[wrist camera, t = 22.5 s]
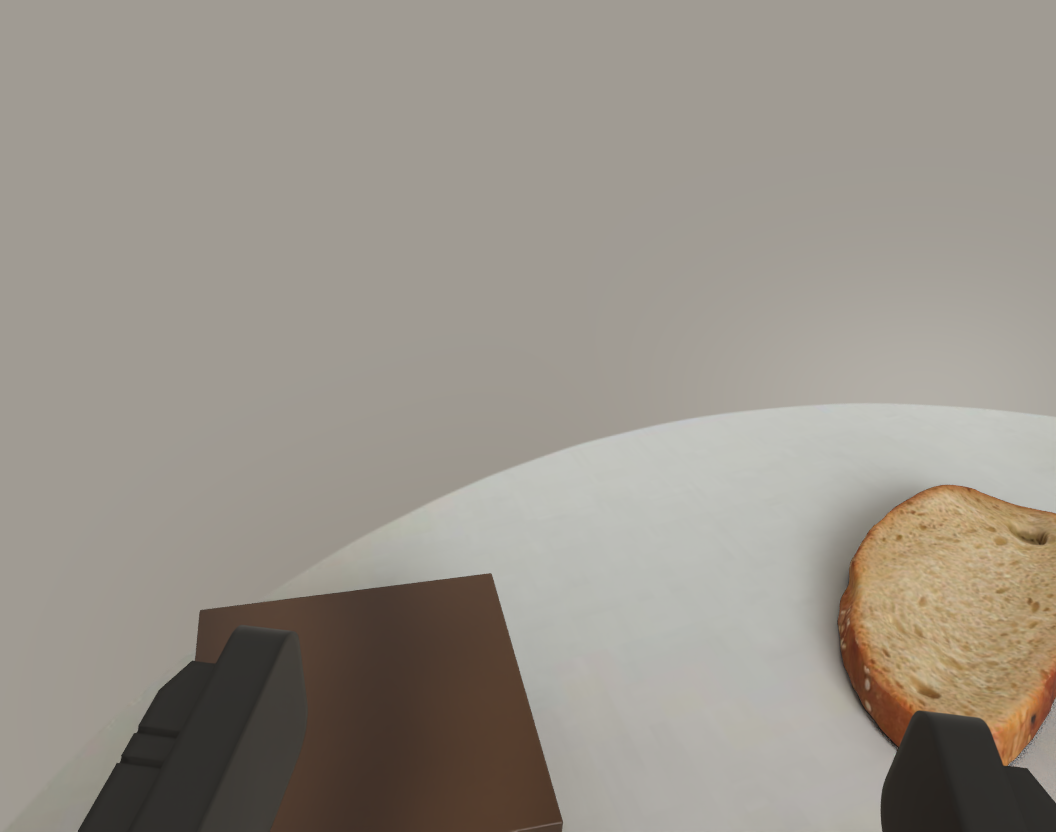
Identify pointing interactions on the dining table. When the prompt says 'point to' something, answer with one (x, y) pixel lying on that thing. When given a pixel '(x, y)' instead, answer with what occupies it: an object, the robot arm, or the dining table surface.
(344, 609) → the shelf
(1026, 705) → the bread slice
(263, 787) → the robot arm
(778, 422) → the dining table surface
